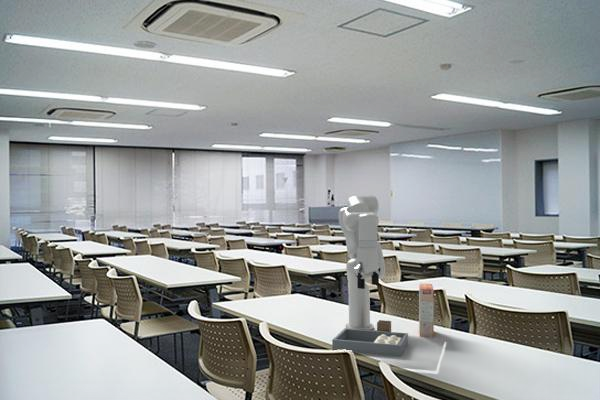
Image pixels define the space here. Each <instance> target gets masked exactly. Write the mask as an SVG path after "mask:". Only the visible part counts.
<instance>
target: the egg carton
mask: <svg viewBox="0 0 600 400" xmlns="http://www.w3.org/2000/svg"><path fill="white" fill-rule="evenodd" d="M400 341H401V338H399V337H397V336H395V335H392V336H391V337H387V336H386V335H384V334H382V335H381V336H378V337H377V339H376V340H375V341H374V343H385V344H396V345H398V344H399V343H400Z"/></svg>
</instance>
